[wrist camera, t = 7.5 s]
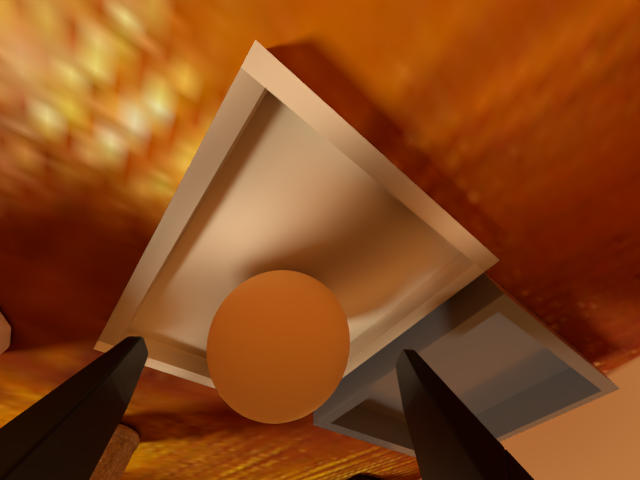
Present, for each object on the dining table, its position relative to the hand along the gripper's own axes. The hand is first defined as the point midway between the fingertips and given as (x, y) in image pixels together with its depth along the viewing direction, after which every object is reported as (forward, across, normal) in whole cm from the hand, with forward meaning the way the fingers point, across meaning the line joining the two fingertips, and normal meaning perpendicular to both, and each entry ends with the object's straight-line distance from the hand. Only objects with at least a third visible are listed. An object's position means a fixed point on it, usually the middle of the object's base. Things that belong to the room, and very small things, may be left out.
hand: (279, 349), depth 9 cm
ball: (+3, 0, 0) cm, 3 cm away
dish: (+4, -11, +6) cm, 13 cm away
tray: (+4, 0, 0) cm, 4 cm away
